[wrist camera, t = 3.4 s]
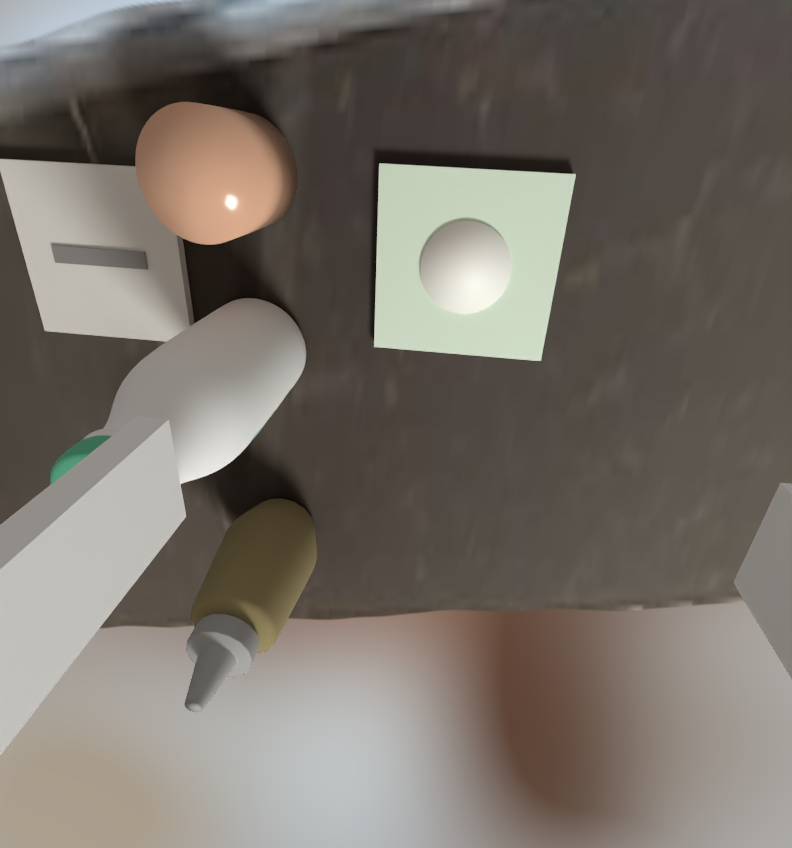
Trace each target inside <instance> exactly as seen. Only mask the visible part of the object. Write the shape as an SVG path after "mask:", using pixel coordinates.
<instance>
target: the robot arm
mask: <svg viewBox="0 0 792 848" xmlns="http://www.w3.org/2000/svg"><path fill="white" fill-rule="evenodd" d="M185 517H186V513H185V507H184V502H183V496H182V490H181V485H180V479H179V474H178V468H177V463H176V457H175V452H174V446H173V440H172V435H171V429H170V424H169V420H168V419H159V418H149V417H139V416H137V417H135V418H134V419H133V420H132V421H130V422H129V423H128V424H126V425H125V426H124V427H123V428H121V429H120V430H119V431H118V432H116V433H115V434H114V435H113V436H111V437H110V438H109V439H108V440H106V441H105V442H104V443H103V444H101V445H100V446H99V447H98V448H96V449H95V450H94V451H93V452H91V453H90V454H89V455H88V456H86V457H85V458H84V459H82V460H81V461H80V462H79V463H77V464H76V465H75V466H74V467H72V468H71V469H70V470H69V471H67V472H66V473H65V474H64V475H62V476H61V477H60V478H59V479H57V480H56V481H55V482H54V483H52V484H51V485H50V486H49V487H47V488H46V489H45V490H44V491H42V492H41V493H40V494H38V495H37V496H36V497H35V498H33V499H32V500H31V501H30V502H28V503H27V504H26V505H25V506H23V507H22V508H21V509H20V510H18V511H17V512H16V513H15V514H13V515H12V516H11V517H10V518H8V519H7V520H6V521H5V522H3V523H2V524H1V525H0V755H1V754H2V753H3V751H4V750H5V749H6V747H7V746H8V745H9V744H10V742H11V741H12V740H13V739H14V737H15V736H16V735H17V733H18V732H19V731H20V729H21V728H22V727H23V726H24V724H25V723H26V722H27V721H28V719H29V718H30V717H31V715H32V714H33V713H34V712H35V710H36V709H37V708H38V706H39V705H40V704H41V703H42V701H43V700H44V699H45V697H46V696H47V695H48V694H49V692H50V691H51V690H52V688H53V687H54V686H55V685H56V683H57V682H58V681H59V679H60V678H61V677H62V676H63V674H64V673H65V672H66V670H67V669H68V668H69V667H70V665H71V664H72V663H73V661H74V660H75V659H76V658H77V656H78V655H79V654H80V652H81V651H82V650H83V648H84V647H85V646H86V645H87V643H88V642H89V641H90V640H91V638H92V637H93V636H94V634H95V633H96V632H97V631H98V629H99V628H100V627H101V625H102V624H103V623H104V622H105V620H106V619H107V618H108V616H109V615H110V614H111V613H112V611H113V610H114V609H115V607H116V606H117V605H118V604H119V602H120V601H121V600H122V598H123V597H124V596H125V595H126V593H127V592H128V591H129V589H130V588H131V587H132V586H133V584H134V583H135V582H136V580H137V579H138V578H139V577H140V575H141V574H142V573H143V571H144V570H145V569H146V568H147V566H148V565H149V564H150V562H151V561H152V560H153V559H154V557H155V556H156V555H157V553H158V552H159V551H160V550H161V548H162V547H163V546H164V544H165V543H166V542H167V541H168V539H169V538H170V537H171V535H172V534H173V533H174V532H175V530H176V529H177V528H178V526H179V525H180V524H181V523H182V521H183V520H184V519H185ZM733 583H734V584H735V586H736V588H737V589H738V591H739V593H740V594H741V596H742V598H743V599H744V601H745V603H746V604H747V605H748V607H749V609H750V611H751V612H752V614H753V616H754V617H755V619H756V621H757V622H758V624H759V626H760V627H761V629H762V630H763V632H764V634H765V635H766V637H767V639H768V640H769V642H770V644H771V645H772V647H773V649H774V650H775V652H776V654H777V655H778V657H779V659H780V660H781V662H782V663H783V665H784V667H785V668H786V670H787V672H788V673H789V675H790V677H791V678H792V484H788V483H780V485H779V487H778V489H777V491H776V493H775V495H774V498H773V500H772V502H771V504H770V506H769V508H768V510H767V512H766V515H765V517H764V519H763V521H762V523H761V525H760V527H759V529H758V531H757V534H756V536H755V538H754V540H753V542H752V544H751V546H750V548H749V551H748V553H747V555H746V557H745V559H744V561H743V563H742V565H741V567H740V570H739V572H738V574H737V576H736V578H735V580H734V582H733Z"/></svg>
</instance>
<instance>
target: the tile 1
mask: <svg viewBox="0 0 792 848" xmlns="http://www.w3.org/2000/svg"><path fill="white" fill-rule="evenodd" d="M0 172H1V175H2V179H3V183H4V186H5V190H6V193H7V197H8V200H9V204H10V208H11V211H12V215H13V218H14V222H15V226H16V229H17V233H18V236H19V240H20V243H21V247H22V251H23V254H24V258H25V261H26V265H27V269H28V272H29V276H30V279H31V283H32V287H33V290H34V294H35V297H36V301H37V304H38V308H39V312H40V315H41V319H42V322H43V326H44V330H45V331H51V332H63V333H74V334H86V335H97V336H108V337H120V338H131V339H143V340H154V341H166V342H167V341H169V340H170V339H172V338H173V337H175V336H176V335H178V334H179V333H181V332H182V331H184V330H185V329H187V328H188V327H190V326H192V325H193V324H195V323H194V316H193V309H192V302H191V294H190V287H189V280H188V273H187V266H186V258H185V251H184V244H183V238H182V237H180V236H178V235H176V234H175V233H173V232H172V231H171V230H169V229H168V228H167V227H166V226H165V225H163V224H162V223H161V222H160V220H159V219H158V218H157V217H156V216H155V215H154V213H153V212H152V210H151V209H150V207H149V206H148V204H147V202H146V201H145V198H144V196H143V194H142V192H141V189H140V186H139V183H138V178H137V174H136V166H123V165H106V164H89V163H71V162H54V161H37V160H20V159H0Z"/></svg>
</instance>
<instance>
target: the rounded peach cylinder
mask: <svg viewBox="0 0 792 848" xmlns="http://www.w3.org/2000/svg"><path fill="white" fill-rule="evenodd" d="M135 165H136V174H137V178H138V183H139V186H140V189H141V192H142V194H143V196H144V198H145V201H146V202H147V204H148V206H149V207H150V209H151V210H152V212H153V213H154V215H155V216H156V217H157V218H158V219H159V220H160V222H161V223H162V224H163V225H165V226H166V227H167V228H168V229H169V230H171V231H172V232H173V233H175V234H176V235H178V236H180V237H182V238H183V239H186V240H188V241H191V242H194V243H198V244H205V245H214V244H221V243H224V242H227V241H230V240H233V239H235V238H238V237H241V236H243V235H246V234H249V233H251V232H254V231H256V230H259V229H262V228H264V227H267V226H269V225H272V224H274V223H275V222H277V221H278V220H280V219H281V218H282V217H283V216H284V215H285V214H286V212H287V211H288V210H289V208H290V206H291V204H292V202H293V200H294V197H295V194H296V189H297V167H296V162H295V158H294V155H293V152H292V150H291V148H290V146H289V144H288V142H287V140H286V139H285V137H284V136H283V135H282V133H281V132H280V131H279V130H278V129H277V128H276V127H275V126H274V125H273V124H272V123H270V122H269V121H268V120H266V119H265V118H263V117H261V116H259V115H257V114H254V113H250V112H246V111H240V110H235V109H229V108H224V107H218V106H212V105H207V104H201V103H194V102H178V103H173V104H170V105H168V106H165V107H163V108H161V109H160V110H158V111H157V112H156V113H155V114H153V115H152V116H151V117H150V119H149V120H148V121H147V122H146V124H145V125H144V127H143V129H142V131H141V133H140V136H139V139H138V142H137V146H136V155H135Z"/></svg>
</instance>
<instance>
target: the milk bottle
mask: <svg viewBox="0 0 792 848" xmlns="http://www.w3.org/2000/svg"><path fill="white" fill-rule="evenodd" d="M305 361H306V347H305V342H304V339H303V336H302V334H301V331H300V330H299V328H298V326H297V324H296V323H295V322H294V321H293V319H292V318H291V317H290V316H289V315H288V314H287V313H286V312H285V311H283V310H282V309H281V308H279V307H277V306H276V305H274V304H272V303H270V302H267V301H264V300H261V299H255V298H242V299H237V300H234V301H231V302H229V303H227V304H225V305H223V306H222V307H220V308H218V309H217V310H215V311H214V312H212V313H210V314H209V315H207V316H206V317H204V318H203V319H201V320H199V321H198V322H196V323H195V324H193V325H192V326H190V327H188V328H187V329H185V330H184V331H182V332H181V333H179V334H178V335H176V336H175V337H173V338H172V339H170V340H169V341H167V342H166V343H164V344H163V345H161V346H160V347H158V348H157V349H156V350H154V351H153V352H152V353H150V354H149V355H148V356H146V357H145V358H144V359H142V360H141V361H140V362H139V363H138V364H137V365H136V366H135V367H134V368H133V369H132V370H131V371H130V373H129V374H128V375H127V377H126V378H125V379H124V381H123V382H122V384H121V386H120V388H119V390H118V392H117V394H116V396H115V399H114V402H113V406H112V410H111V413H110V416H109V419H108V421H107V423H106V425H105V427H104V428H103V429H101V430H97V431H94V432H92V433H90V434H88V435H87V436H86V437H85V438H84V439H83V440H82V441H80V442H78V443H77V444H75V445H74V446H72V447H71V448H69V449H68V450H67V451H66V452H65V453H63V454H62V455H61V456H60V457H59V458H58V460H57V461H56V462H55V464H54V466H53V467H52V470H51V474H50V485H51V484H52V483H54V482H55V481H56V480H57V479H59V478H60V477H61V476H62V475H64V474H65V473H66V472H67V471H69V470H70V469H71V468H72V467H74V466H75V465H76V464H77V463H79V462H80V461H81V460H82V459H84V458H85V457H86V456H88V455H89V454H90V453H91V452H93V451H94V450H95V449H96V448H98V447H99V446H100V445H101V444H103V443H104V442H105V441H106V440H108V439H109V438H110V437H111V436H113V435H114V434H115V433H116V432H118V431H119V430H120V429H121V428H123V427H124V426H125V425H126V424H128V423H129V422H130V421H132V420H133V419H134V418H135V417H137V416H139V417H149V418H159V419H168V420H169V424H170V429H171V435H172V440H173V446H174V452H175V457H176V463H177V468H178V474H179V479H180V484H182V483H185V482H188V481H191V480H195V479H198V478H201V477H204V476H207V475H210V474H212V473H214V472H216V471H218V470H220V469H221V468H223V467H224V466H226V465H227V464H229V463H230V462H232V461H233V460H234V459H235V458H236V457H237V456H238V455H240V454H241V453H242V452H243V451H244V449H245V448H246V447H247V446H248V445H249V444H250V442H251V441H252V440H253V439H254V438H255V436H256V435H257V434H258V433H259V431H260V430H261V429H262V427H263V426H264V425H265V423H266V422H267V421H268V420H269V418H270V417H271V416H272V414H273V413H274V412H275V410H276V409H277V408H278V406H279V405H280V404H281V402H282V401H283V400H284V398H285V397H286V396H287V394H288V393H289V391H290V390H291V389H292V387H293V386H294V385H295V383H296V382H297V380H298V379H299V377H300V375H301V374H302V371H303V369H304V366H305Z"/></svg>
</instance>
